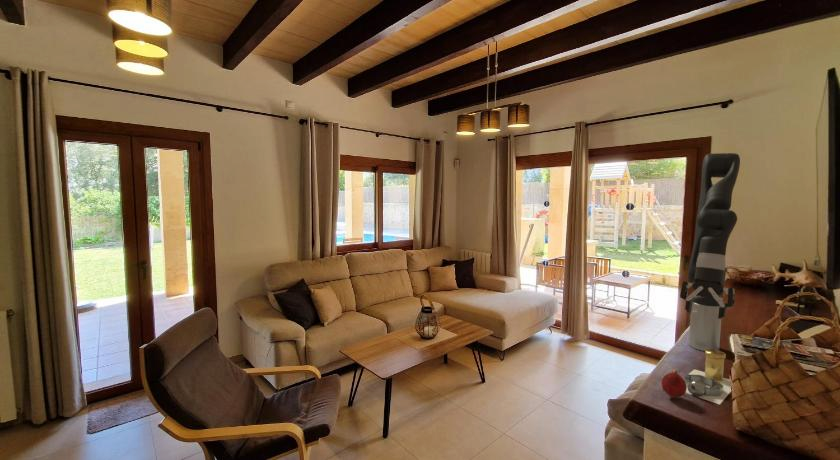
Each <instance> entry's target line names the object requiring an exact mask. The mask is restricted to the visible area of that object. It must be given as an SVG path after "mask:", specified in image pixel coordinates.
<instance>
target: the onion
mask: <svg viewBox="0 0 840 460" xmlns="http://www.w3.org/2000/svg"><path fill="white" fill-rule="evenodd" d="M683 378H684V377H682V376H681V375H679V374H678V371H677V369H673V370H672V371H671V372H670V373H667V374H665V375H664V376H663V377H662V379H661V387H662V390H663V391H664V392H665V394H667V395H668V397H670V398H671V399H676V398H680V397H681V396H684V395H685V394H686V393H685V392H686V390H687V386H686V383H685V381H684V379H683Z"/></svg>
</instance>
